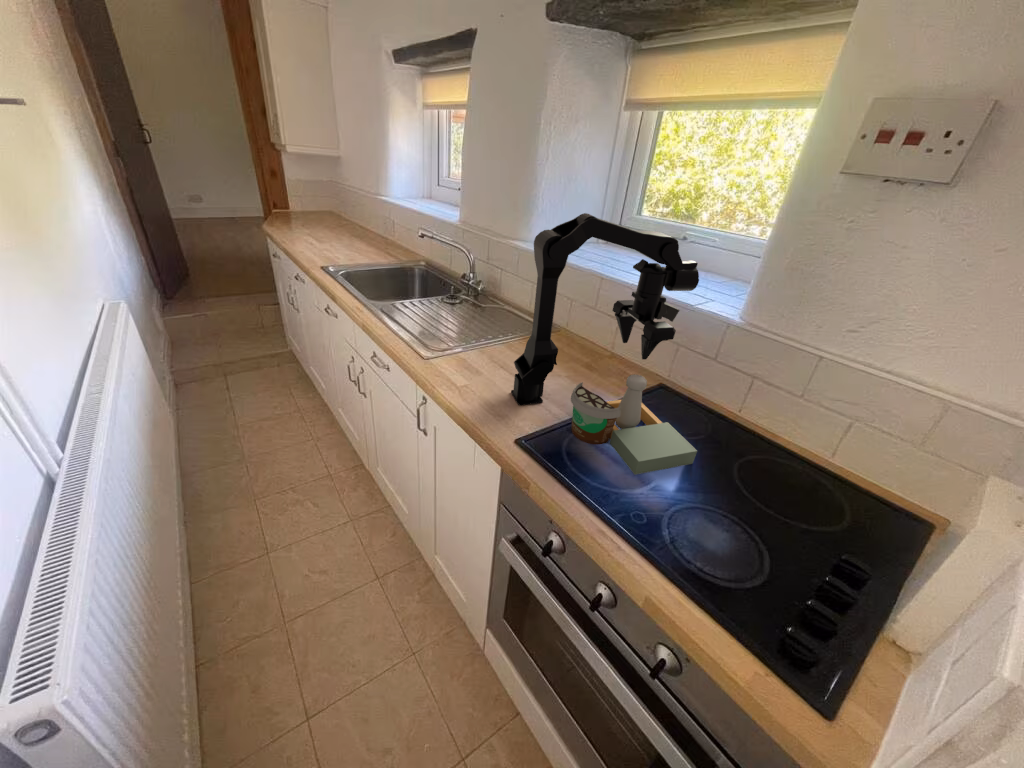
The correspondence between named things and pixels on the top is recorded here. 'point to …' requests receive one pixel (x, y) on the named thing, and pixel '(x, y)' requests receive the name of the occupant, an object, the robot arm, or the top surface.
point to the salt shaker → (631, 402)
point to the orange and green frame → (651, 444)
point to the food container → (592, 416)
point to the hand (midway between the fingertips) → (634, 350)
